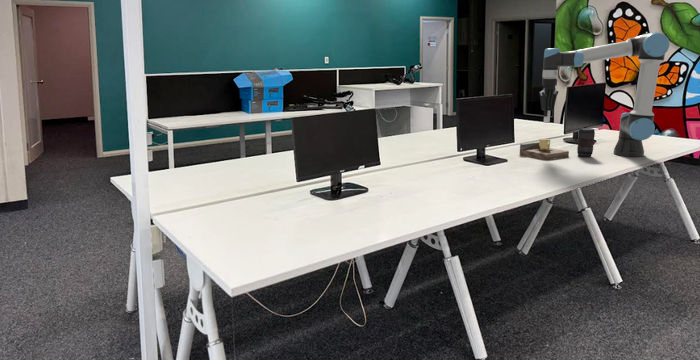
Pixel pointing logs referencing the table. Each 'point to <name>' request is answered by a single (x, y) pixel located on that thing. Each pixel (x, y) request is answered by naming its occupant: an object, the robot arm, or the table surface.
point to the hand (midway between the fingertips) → (546, 122)
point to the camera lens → (585, 142)
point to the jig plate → (541, 152)
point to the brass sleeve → (544, 145)
